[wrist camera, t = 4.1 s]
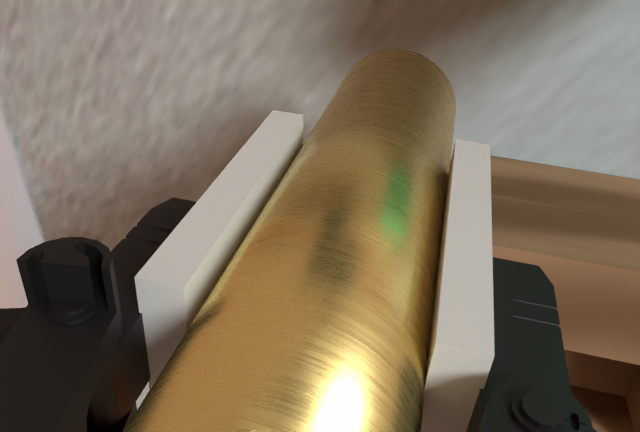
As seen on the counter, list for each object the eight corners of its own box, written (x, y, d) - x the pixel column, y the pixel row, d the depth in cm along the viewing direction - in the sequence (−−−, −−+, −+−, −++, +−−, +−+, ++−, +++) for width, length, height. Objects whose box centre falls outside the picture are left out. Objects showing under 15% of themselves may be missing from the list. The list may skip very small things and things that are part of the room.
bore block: (466, 152, 24) (464, 239, 18) (778, 202, 22) (885, 317, 17) (420, 356, 31) (407, 471, 25) (660, 409, 29) (707, 546, 23)
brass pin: (343, 41, 17) (42, 439, 5) (467, 58, 16) (427, 545, 5) (333, 151, 19) (96, 617, 7) (443, 170, 18) (376, 707, 7)
